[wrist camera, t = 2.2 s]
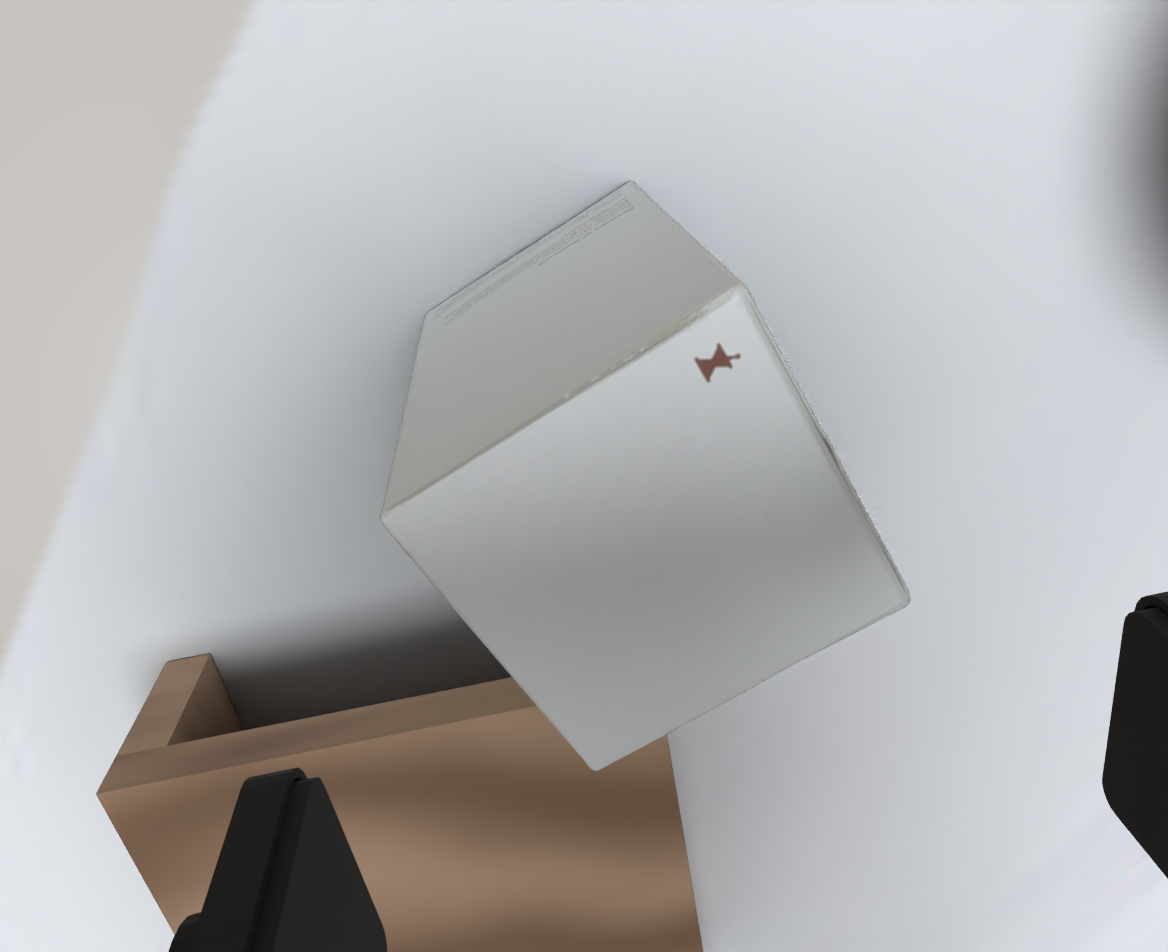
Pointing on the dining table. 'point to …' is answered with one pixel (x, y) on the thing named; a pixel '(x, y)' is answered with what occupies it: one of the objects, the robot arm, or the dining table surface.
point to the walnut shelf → (423, 816)
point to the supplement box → (627, 482)
